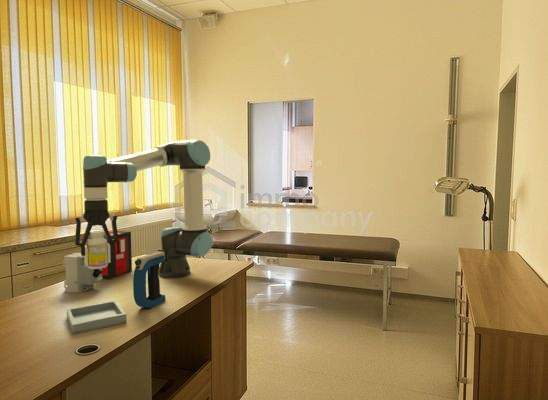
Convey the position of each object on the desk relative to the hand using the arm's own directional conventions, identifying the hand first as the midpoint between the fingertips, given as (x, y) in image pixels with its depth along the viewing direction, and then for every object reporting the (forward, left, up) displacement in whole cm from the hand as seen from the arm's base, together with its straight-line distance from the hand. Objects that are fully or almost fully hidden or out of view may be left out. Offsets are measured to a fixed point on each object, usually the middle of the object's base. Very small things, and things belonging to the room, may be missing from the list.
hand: (97, 263), depth 135 cm
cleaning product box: (-14, -48, -18) cm, 53 cm away
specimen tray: (+2, +9, -18) cm, 20 cm away
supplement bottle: (0, 0, -2) cm, 2 cm away
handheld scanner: (-18, +5, -18) cm, 25 cm away
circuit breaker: (0, -29, -18) cm, 34 cm away
